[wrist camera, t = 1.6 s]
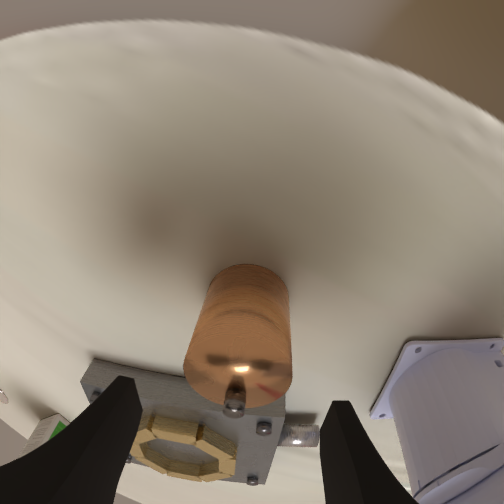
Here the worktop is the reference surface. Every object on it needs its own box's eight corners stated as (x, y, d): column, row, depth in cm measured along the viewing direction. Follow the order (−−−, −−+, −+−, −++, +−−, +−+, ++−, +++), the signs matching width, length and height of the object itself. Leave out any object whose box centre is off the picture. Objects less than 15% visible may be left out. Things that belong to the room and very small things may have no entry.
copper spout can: (208, 260, 16) (172, 346, 10) (294, 268, 16) (302, 360, 10) (207, 327, 18) (182, 417, 12) (283, 334, 18) (283, 429, 12)
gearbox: (327, 390, 20) (333, 433, 16) (296, 464, 25) (297, 496, 22) (93, 358, 20) (73, 393, 17) (125, 439, 25) (114, 468, 22)
